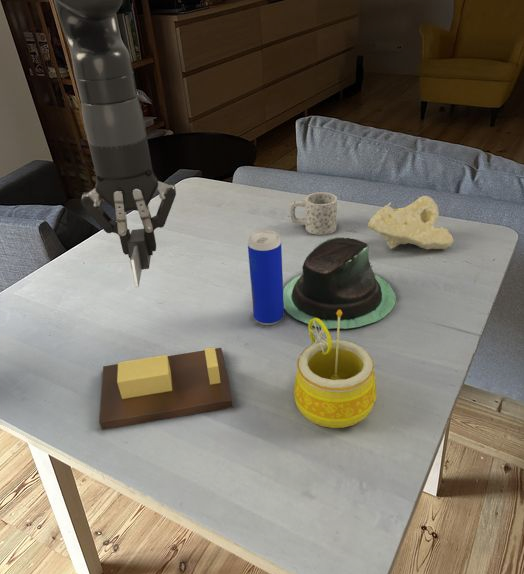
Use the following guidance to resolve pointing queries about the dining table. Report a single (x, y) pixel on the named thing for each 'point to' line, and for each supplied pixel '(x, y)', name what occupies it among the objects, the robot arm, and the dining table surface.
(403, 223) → the cheese
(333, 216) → the mug
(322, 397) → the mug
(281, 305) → the beverage can
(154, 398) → the board
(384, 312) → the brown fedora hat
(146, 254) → the knife
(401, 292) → the dining table surface
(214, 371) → the butter slice
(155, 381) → the butter block
